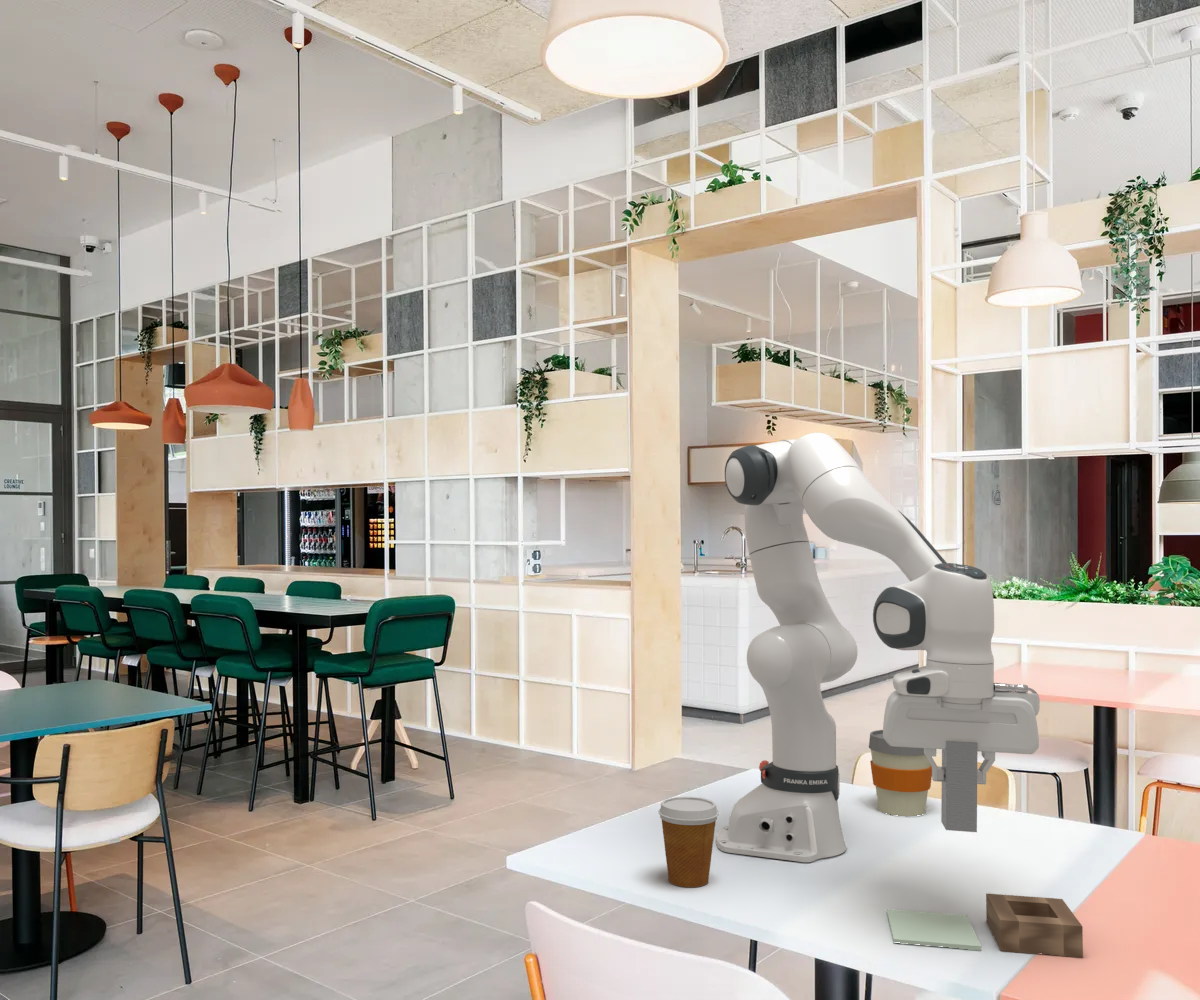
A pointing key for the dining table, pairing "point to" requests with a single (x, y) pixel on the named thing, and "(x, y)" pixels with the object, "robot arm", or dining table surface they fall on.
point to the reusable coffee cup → (899, 777)
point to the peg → (959, 786)
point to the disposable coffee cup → (688, 839)
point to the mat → (933, 929)
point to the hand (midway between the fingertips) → (958, 782)
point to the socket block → (1034, 925)
